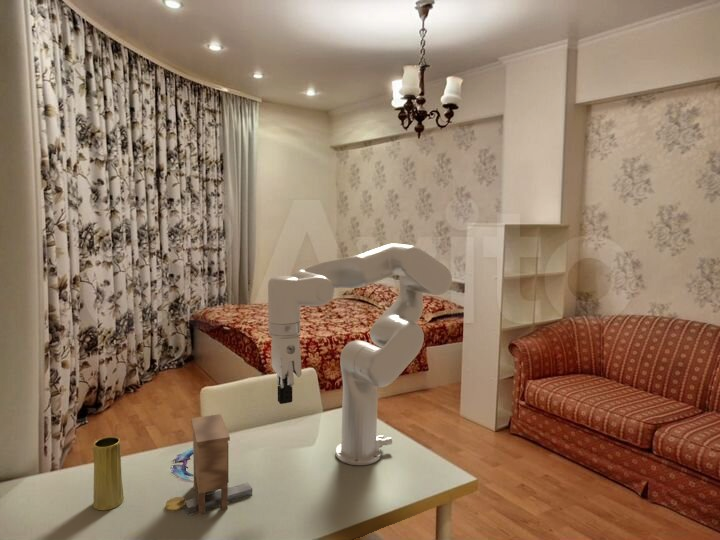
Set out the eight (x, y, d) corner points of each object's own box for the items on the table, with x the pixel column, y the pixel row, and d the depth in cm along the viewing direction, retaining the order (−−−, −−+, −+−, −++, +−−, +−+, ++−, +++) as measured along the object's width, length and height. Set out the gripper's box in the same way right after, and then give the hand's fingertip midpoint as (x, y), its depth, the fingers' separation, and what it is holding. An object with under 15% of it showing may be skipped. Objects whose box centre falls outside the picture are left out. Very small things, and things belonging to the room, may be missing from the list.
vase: (102, 494, 111) (101, 434, 109) (129, 495, 111) (127, 436, 109) (87, 510, 105) (84, 447, 103) (114, 511, 105) (113, 449, 103)
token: (187, 501, 109) (187, 496, 109) (182, 512, 105) (182, 507, 105) (169, 501, 109) (169, 496, 109) (163, 512, 105) (163, 507, 105)
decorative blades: (173, 444, 134) (210, 443, 136) (173, 447, 134) (210, 446, 136) (154, 483, 115) (197, 481, 117) (154, 486, 115) (198, 484, 117)
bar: (247, 490, 115) (247, 482, 115) (252, 496, 112) (252, 488, 112) (184, 509, 107) (184, 500, 107) (188, 516, 104) (188, 507, 104)
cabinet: (221, 480, 118) (220, 414, 116) (229, 509, 106) (229, 436, 105) (191, 485, 115) (191, 418, 113) (197, 516, 104) (196, 442, 102)
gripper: (310, 334, 110) (310, 411, 112) (290, 320, 123) (290, 389, 126) (278, 337, 107) (278, 416, 109) (261, 322, 120) (262, 393, 122)
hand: (285, 401), depth 117 cm, fingers closed
